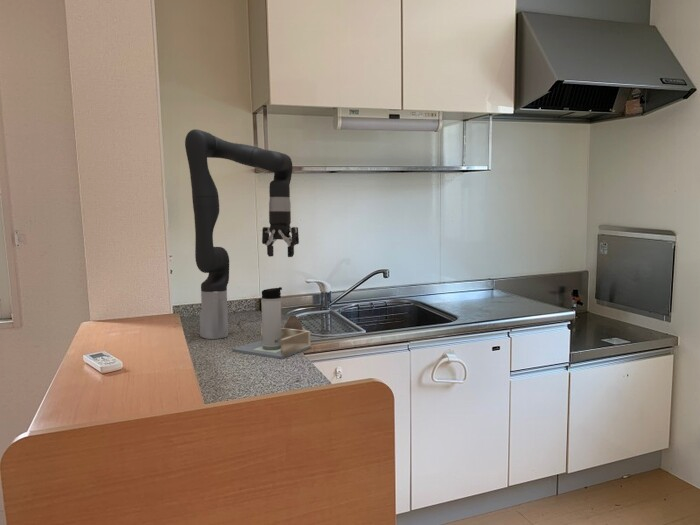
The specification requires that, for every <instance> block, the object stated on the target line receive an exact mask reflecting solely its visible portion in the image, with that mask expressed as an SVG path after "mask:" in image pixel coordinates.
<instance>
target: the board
mask: <svg viewBox="0 0 700 525" xmlns="http://www.w3.org/2000/svg"><path fill="white" fill-rule="evenodd" d="M262 344H263V343H262V340H261V339H260V340H257V341H254V342H251V343H247V344H244V345H240V346H238V347H234V348H232V350H231V351H232V352H233V353H239V354H240V353H241V354H248V355H254V356H260V357H266V358H272V359H273V358H274V359H278V360H279V359H281V360H283V359H285V358H289V357H291V356H293V354H294V355H296V354H298V353H297V352H299V353H301V352H304V351H306V350H309V349H311V345H310V346H309V347H306V348H303V349H301V350H298V351H295V352H292V353H290V354H287V355H284V356H283V355H281V348H280V349H277V350H265V349H263V348H262Z"/></svg>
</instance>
